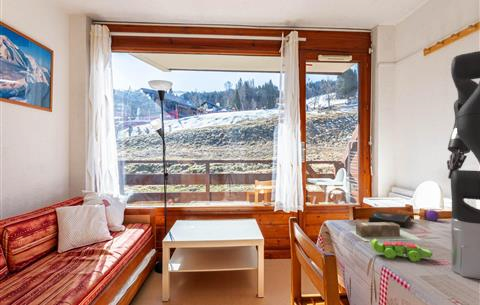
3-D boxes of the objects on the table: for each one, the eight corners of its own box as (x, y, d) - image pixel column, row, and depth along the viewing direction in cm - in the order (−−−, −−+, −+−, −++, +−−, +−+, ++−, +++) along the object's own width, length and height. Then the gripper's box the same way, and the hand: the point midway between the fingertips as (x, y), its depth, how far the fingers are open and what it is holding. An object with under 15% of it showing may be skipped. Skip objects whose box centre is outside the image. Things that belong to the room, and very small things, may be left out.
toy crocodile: (428, 257, 98) (428, 240, 98) (435, 264, 92) (435, 247, 92) (369, 250, 104) (369, 235, 104) (372, 257, 98) (372, 241, 98)
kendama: (399, 207, 161) (439, 210, 147) (400, 217, 160) (440, 221, 146) (396, 207, 157) (437, 210, 143) (396, 217, 156) (437, 221, 142)
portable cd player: (376, 217, 155) (376, 210, 155) (410, 222, 144) (410, 215, 144) (368, 223, 142) (368, 216, 142) (405, 230, 131) (405, 222, 131)
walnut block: (392, 221, 124) (355, 222, 123) (399, 224, 119) (361, 225, 118) (392, 232, 124) (355, 233, 123) (399, 236, 119) (361, 237, 118)
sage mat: (401, 230, 129) (401, 229, 129) (422, 240, 115) (422, 239, 115) (349, 231, 128) (349, 230, 128) (364, 241, 114) (364, 240, 114)
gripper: (444, 143, 120) (435, 178, 118) (457, 133, 108) (447, 173, 106) (464, 147, 117) (455, 183, 115) (479, 138, 105) (470, 179, 103)
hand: (451, 178), depth 110 cm, fingers closed
